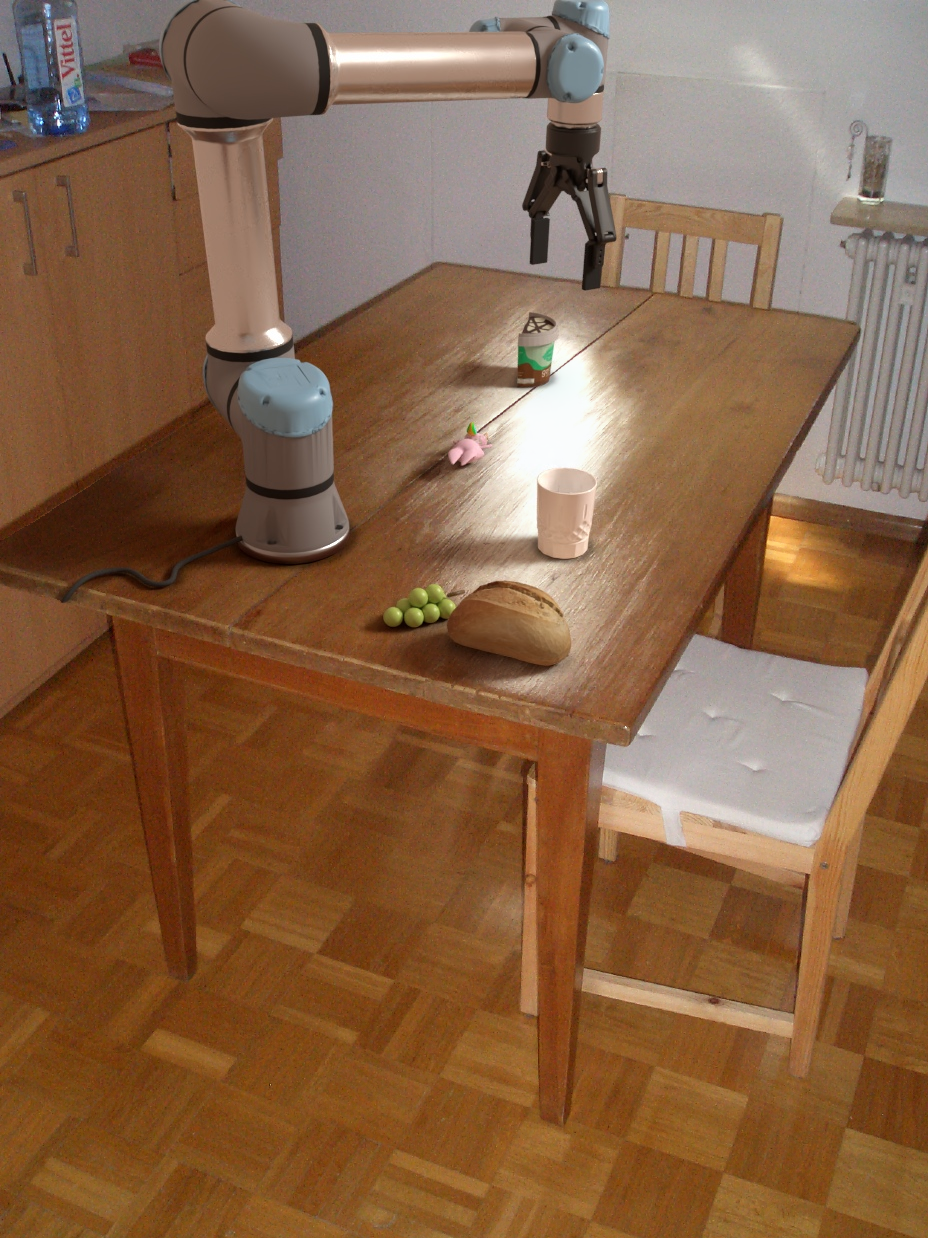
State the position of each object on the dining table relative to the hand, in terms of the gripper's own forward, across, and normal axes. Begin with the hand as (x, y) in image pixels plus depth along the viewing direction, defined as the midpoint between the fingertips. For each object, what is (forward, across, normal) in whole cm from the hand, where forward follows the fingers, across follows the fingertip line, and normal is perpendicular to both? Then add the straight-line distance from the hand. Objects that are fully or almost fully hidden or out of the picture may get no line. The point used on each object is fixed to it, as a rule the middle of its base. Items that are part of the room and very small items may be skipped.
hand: (563, 275), depth 185 cm
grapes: (+27, -35, +44) cm, 62 cm away
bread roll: (+27, -46, +37) cm, 65 cm away
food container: (+27, +24, -13) cm, 38 cm away
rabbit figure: (+27, +1, +15) cm, 31 cm away
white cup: (+27, -29, +18) cm, 43 cm away
